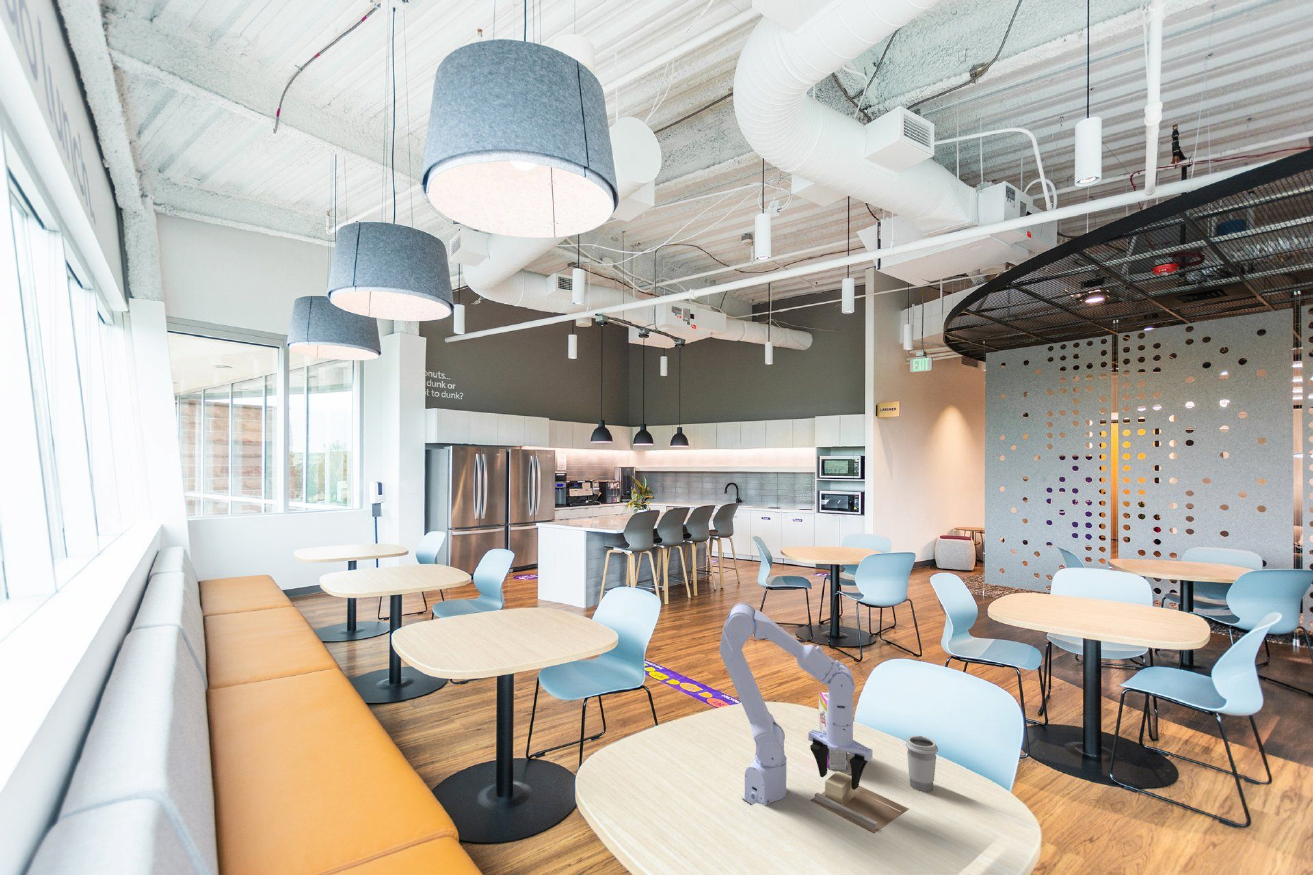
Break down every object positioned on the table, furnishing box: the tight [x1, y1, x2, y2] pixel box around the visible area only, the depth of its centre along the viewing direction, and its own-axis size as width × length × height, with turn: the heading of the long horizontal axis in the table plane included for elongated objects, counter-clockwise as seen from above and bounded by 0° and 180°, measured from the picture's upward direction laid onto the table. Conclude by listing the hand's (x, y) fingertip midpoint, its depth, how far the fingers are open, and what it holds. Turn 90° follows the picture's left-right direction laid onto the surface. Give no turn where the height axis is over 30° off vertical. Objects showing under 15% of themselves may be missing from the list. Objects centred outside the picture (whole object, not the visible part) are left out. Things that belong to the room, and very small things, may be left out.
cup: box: [905, 735, 939, 793], centre depth 154 cm, size 7×7×12 cm
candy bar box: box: [818, 691, 848, 771], centre depth 167 cm, size 11×5×16 cm, turn 179°
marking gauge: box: [824, 770, 854, 806], centre depth 150 cm, size 10×4×4 cm, turn 139°
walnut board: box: [809, 785, 910, 834], centre depth 146 cm, size 14×16×3 cm
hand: (839, 781), depth 148 cm, fingers open, 7 cm apart
